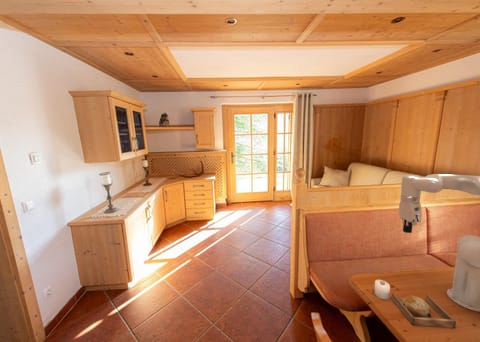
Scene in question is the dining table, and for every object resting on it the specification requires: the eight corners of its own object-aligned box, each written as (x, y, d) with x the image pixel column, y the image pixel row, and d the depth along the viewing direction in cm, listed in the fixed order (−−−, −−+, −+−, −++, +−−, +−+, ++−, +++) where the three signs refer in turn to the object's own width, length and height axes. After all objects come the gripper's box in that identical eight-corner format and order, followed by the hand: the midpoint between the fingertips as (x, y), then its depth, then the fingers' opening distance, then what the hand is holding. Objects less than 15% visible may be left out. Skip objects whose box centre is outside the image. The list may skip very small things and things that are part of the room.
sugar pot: (384, 290, 99) (385, 277, 98) (392, 299, 93) (393, 285, 92) (371, 289, 100) (372, 276, 99) (378, 299, 94) (379, 285, 93)
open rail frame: (427, 300, 92) (427, 294, 92) (455, 327, 79) (456, 321, 78) (391, 298, 94) (391, 292, 94) (412, 325, 81) (413, 318, 80)
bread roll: (420, 329, 82) (433, 320, 79) (394, 306, 89) (405, 296, 85) (426, 316, 88) (438, 306, 84) (401, 295, 95) (411, 286, 91)
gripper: (430, 203, 92) (426, 239, 95) (407, 194, 107) (405, 226, 110) (412, 203, 93) (409, 239, 96) (392, 194, 108) (390, 225, 111)
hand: (407, 232), depth 103 cm, fingers closed
